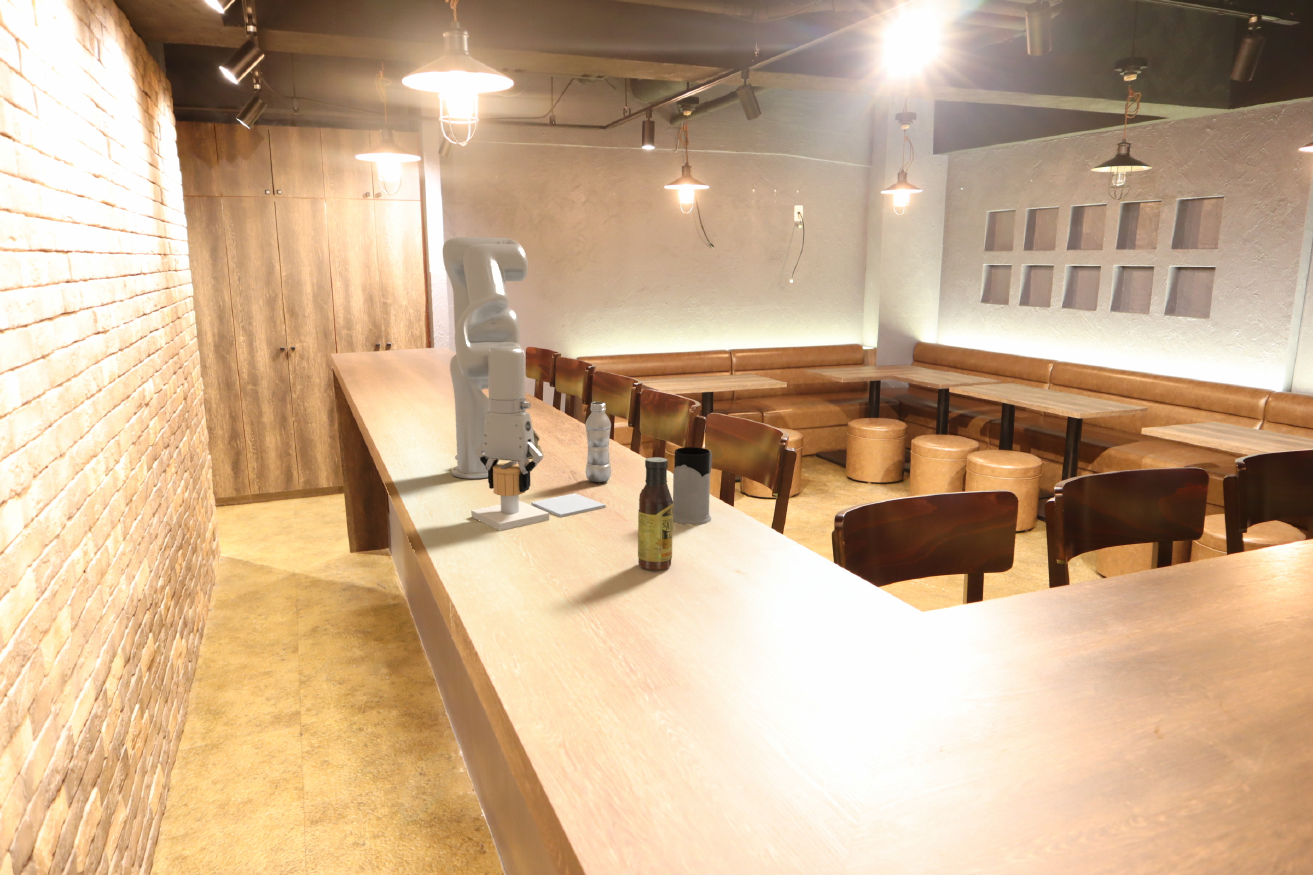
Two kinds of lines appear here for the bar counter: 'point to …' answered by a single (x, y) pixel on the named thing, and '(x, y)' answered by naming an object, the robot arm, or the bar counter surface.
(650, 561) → the sauce bottle
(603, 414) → the plastic bottle
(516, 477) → the knob
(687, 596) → the bar counter surface
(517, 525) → the post block
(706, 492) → the glass holder
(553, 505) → the mat
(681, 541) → the bar counter surface
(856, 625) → the bar counter surface
